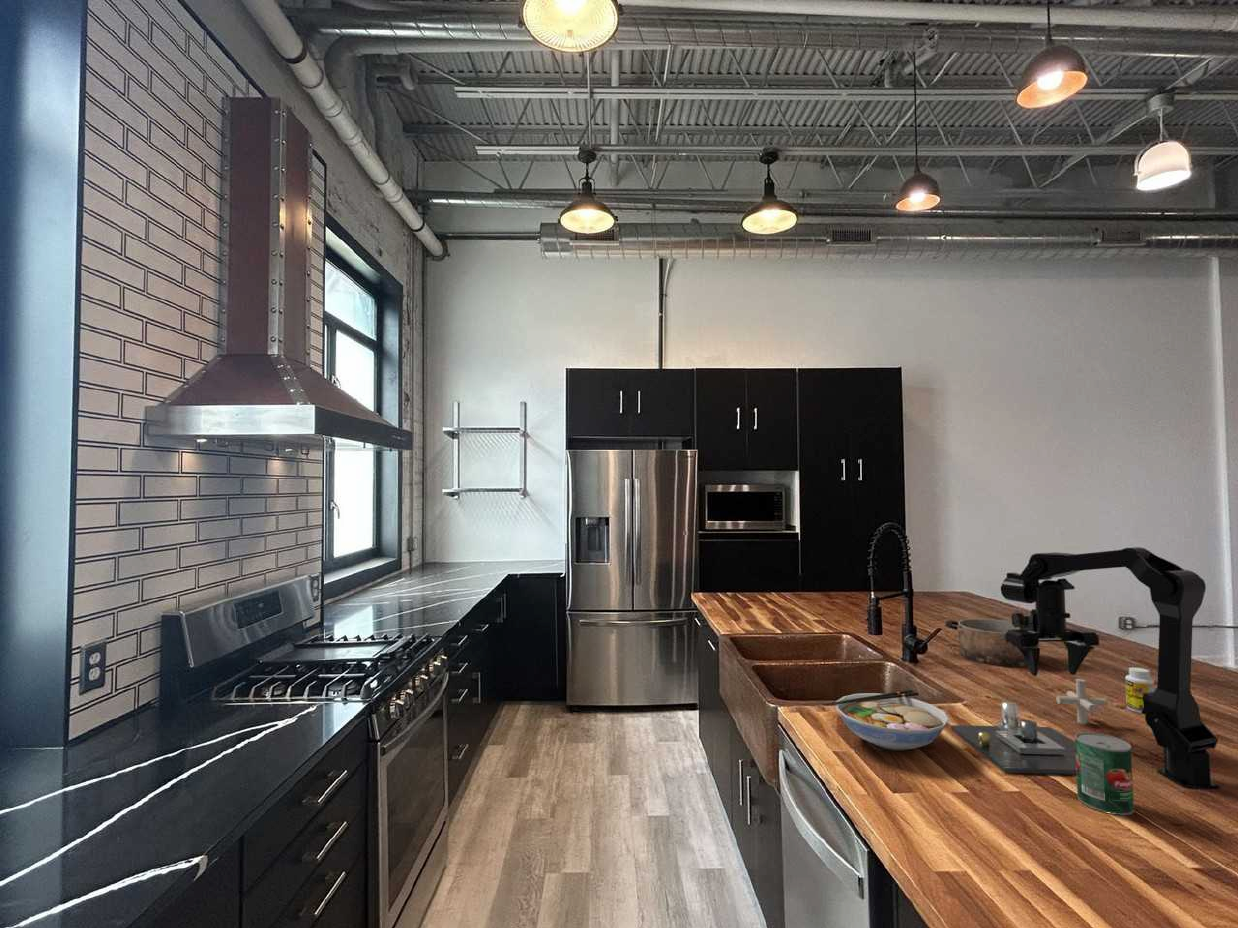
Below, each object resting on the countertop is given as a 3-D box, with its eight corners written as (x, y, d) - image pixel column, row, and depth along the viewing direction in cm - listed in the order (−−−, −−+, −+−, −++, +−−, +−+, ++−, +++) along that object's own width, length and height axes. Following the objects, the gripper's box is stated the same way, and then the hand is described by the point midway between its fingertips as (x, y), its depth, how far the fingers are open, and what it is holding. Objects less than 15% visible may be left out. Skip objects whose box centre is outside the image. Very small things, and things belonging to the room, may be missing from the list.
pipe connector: (1118, 732, 139) (1117, 688, 139) (1069, 729, 141) (1068, 685, 141) (1094, 716, 149) (1092, 675, 149) (1048, 713, 151) (1047, 672, 151)
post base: (1123, 776, 118) (1121, 744, 118) (1005, 773, 119) (1004, 742, 119) (1050, 731, 140) (1049, 705, 140) (951, 729, 141) (950, 703, 141)
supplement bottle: (1120, 708, 154) (1119, 667, 155) (1136, 705, 156) (1134, 665, 156) (1145, 716, 149) (1143, 673, 149) (1161, 713, 151) (1159, 671, 151)
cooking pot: (943, 659, 200) (942, 626, 200) (949, 645, 218) (948, 615, 219) (1055, 674, 183) (1053, 638, 184) (1051, 657, 202) (1050, 624, 202)
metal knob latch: (1065, 754, 125) (1064, 723, 125) (1019, 753, 125) (1018, 722, 126) (1024, 728, 139) (1023, 700, 139) (983, 727, 139) (982, 699, 140)
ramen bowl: (877, 775, 119) (876, 732, 119) (811, 730, 141) (810, 694, 141) (980, 759, 126) (979, 719, 126) (901, 719, 148) (900, 685, 148)
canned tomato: (1078, 788, 113) (1076, 728, 113) (1133, 802, 108) (1131, 739, 108) (1076, 805, 107) (1073, 742, 107) (1134, 821, 102) (1131, 754, 102)
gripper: (1061, 600, 150) (1064, 664, 149) (988, 601, 149) (991, 666, 148) (1099, 608, 139) (1103, 678, 138) (1021, 610, 138) (1024, 680, 137)
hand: (1053, 675), depth 140 cm, fingers open, 9 cm apart
